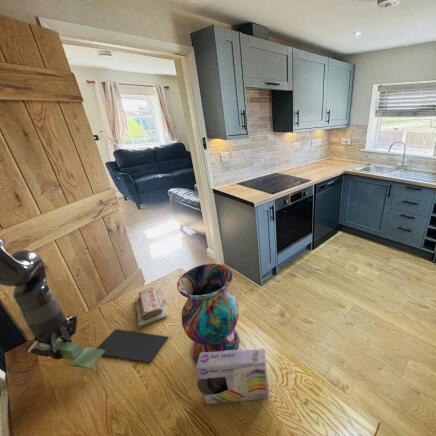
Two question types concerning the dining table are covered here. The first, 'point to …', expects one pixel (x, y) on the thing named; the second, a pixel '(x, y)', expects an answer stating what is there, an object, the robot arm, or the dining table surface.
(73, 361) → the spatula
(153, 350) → the mat
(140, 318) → the packaged product
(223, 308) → the vase
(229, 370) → the cake pan box
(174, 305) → the dining table surface
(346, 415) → the dining table surface
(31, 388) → the dining table surface
